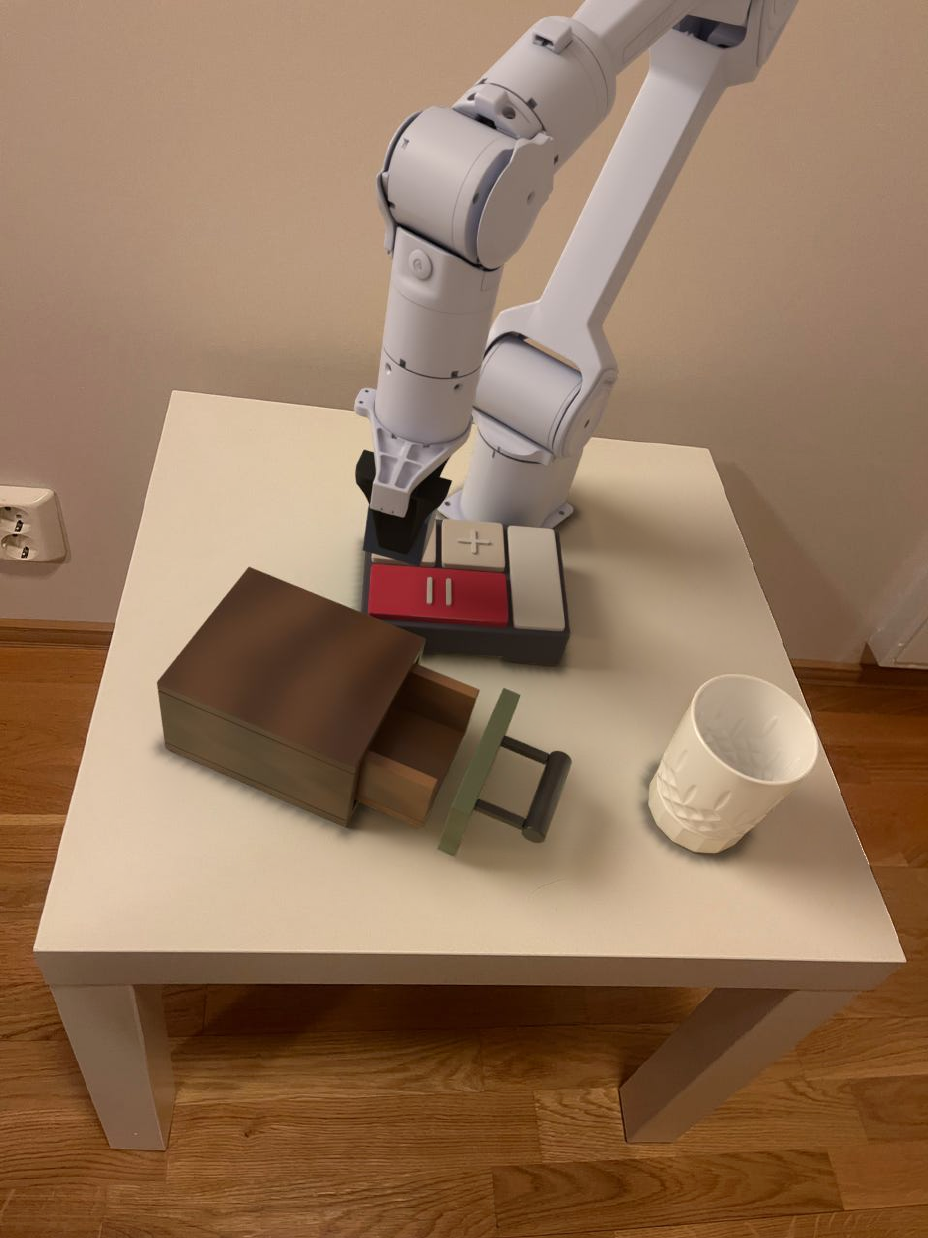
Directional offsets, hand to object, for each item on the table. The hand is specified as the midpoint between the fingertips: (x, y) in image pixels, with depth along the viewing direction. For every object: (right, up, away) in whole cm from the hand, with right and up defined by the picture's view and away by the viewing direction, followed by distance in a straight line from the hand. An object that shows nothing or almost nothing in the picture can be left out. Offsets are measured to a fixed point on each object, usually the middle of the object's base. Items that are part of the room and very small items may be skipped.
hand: (402, 524), depth 61 cm
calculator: (+4, -5, +9) cm, 11 cm away
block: (0, -1, +1) cm, 1 cm away
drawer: (+2, -16, -2) cm, 17 cm away
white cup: (+20, -19, +1) cm, 28 cm away
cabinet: (-7, -13, -1) cm, 15 cm away
